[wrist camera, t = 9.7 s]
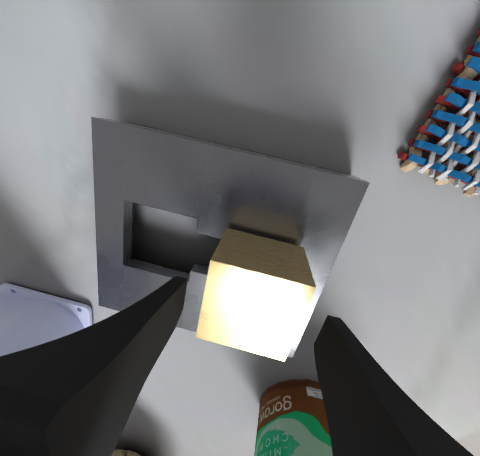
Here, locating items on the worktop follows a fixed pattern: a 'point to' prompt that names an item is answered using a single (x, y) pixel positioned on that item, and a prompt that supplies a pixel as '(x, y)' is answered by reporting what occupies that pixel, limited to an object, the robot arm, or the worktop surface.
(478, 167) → the woven mat
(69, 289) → the worktop surface
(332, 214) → the keyhole plate
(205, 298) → the brass peg
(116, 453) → the cantaloupe
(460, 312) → the worktop surface
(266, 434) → the food container
